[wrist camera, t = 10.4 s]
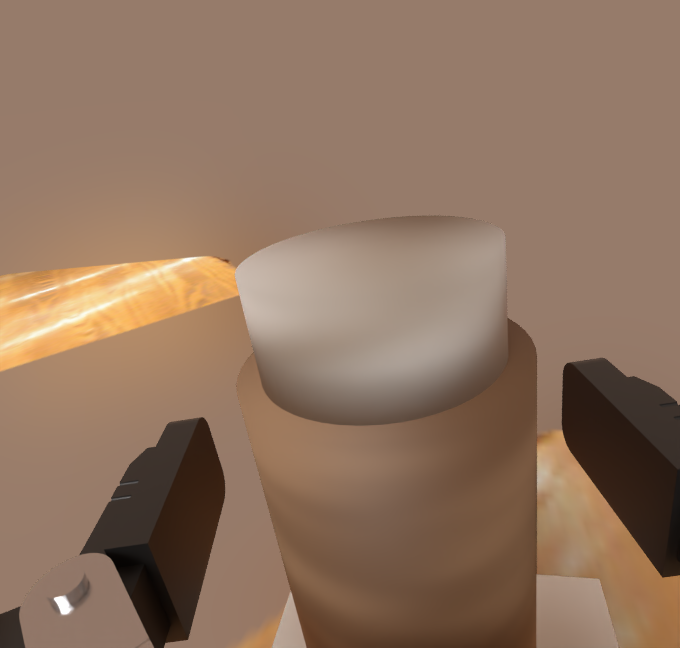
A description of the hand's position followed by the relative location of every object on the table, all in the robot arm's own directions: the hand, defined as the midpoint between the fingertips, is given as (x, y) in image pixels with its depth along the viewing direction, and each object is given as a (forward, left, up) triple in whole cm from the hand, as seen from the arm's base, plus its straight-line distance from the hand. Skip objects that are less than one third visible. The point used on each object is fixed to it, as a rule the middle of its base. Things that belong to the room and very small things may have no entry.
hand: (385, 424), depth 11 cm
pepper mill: (0, -2, -8) cm, 8 cm away
